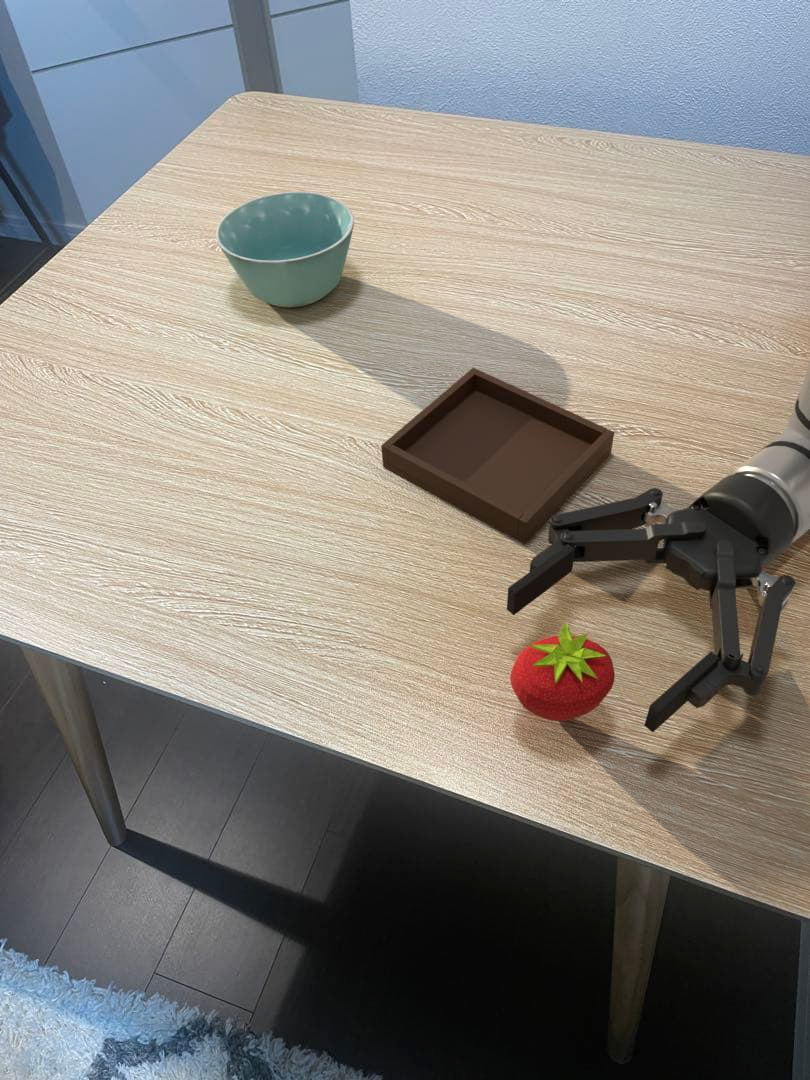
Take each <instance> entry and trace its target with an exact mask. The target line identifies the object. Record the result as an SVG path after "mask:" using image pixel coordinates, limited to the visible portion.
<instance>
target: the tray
mask: <svg viewBox="0 0 810 1080" xmlns="http://www.w3.org/2000/svg"><path fill="white" fill-rule="evenodd" d="M614 437H615V431H613V430H611V429H609V428H607V427H605V426H602V425H601V424H598V423H596V422H594V421H591V420H589V419H587V418H585V417H583V416H581V415H578V414H576V413H574V412H572V411H569V410H567V409H565V408H563V407H561V406H559V405H556V404H554V403H552V402H550V401H548V400H545V399H544V398H541V397H539V396H536V395H535V394H533V393H530V392H528V391H526V390H523V388H522V389H521V388H519V387H518V386H515V385H513V384H510V383H508V382H506V381H503V380H502V379H500V378H497V377H495V376H493V375H491V374H489V373H487V372H484V371H483V370H479V369H478V368H475V367H472V368H471V369H469V371H467V372H466V373H465V374H463V376H461V377H460V378H458V380H457V381H455V382H454V383H453V384H452V385H451V386H450V387H448V388H447V389H446V390H445V391H444V392H443V393H441V394H440V395H439V396H438V397H437V398H435V399H434V400H433V401H432V402H431V403H429V404H428V405H427V406H426V407H425V408H423V410H422V411H420V412H419V413H418V414H416V415H415V416H414V417H413V418H412V419H410V421H408V422H407V423H405V424H404V426H402V427H401V428H400V429H398V431H396V432H395V433H393V435H392V436H391V437H389V438H388V439H387V440H386V441H384V443H382V444H381V445H380V448H381V460H382V467H383V468H385V469H386V470H389V471H390V472H392V473H394V474H396V475H397V476H399V477H401V478H403V479H405V480H406V481H409V482H410V483H412V484H415V485H416V486H418V487H419V488H421V489H424V490H425V491H426V492H428V493H431V494H433V495H434V496H435V497H438V498H440V499H441V500H443V501H445V502H447V503H449V504H451V505H453V506H454V507H456V508H458V509H460V510H462V511H463V512H466V513H468V514H469V515H471V516H472V517H474V518H476V519H478V520H480V521H482V522H483V523H485V524H487V525H489V526H491V527H493V528H494V529H496V530H498V531H500V532H502V533H504V534H506V535H508V536H509V537H511V538H513V539H515V540H517V542H520V543H522V544H523V545H526V544H527V543H528V542H529V541H530V539H531V538H533V536H534V535H535V534H536V533H537V532H538V531H539V530H540V529H541V528H542V527H543V526H544V525H545V524H546V523H547V522H548V521H549V520H550V518H551V517H552V516H554V515H555V513H557V511H558V510H559V509H560V508H561V507H562V506H563V505H564V504H565V502H567V501H568V499H570V497H571V496H572V495H573V494H574V493H575V492H576V491H577V490H578V489H579V488H580V487H581V486H582V484H584V483H585V481H587V479H588V478H589V477H590V476H591V475H593V473H594V472H595V471H596V470H597V469H598V468H599V467H600V466H601V465H602V464H603V463H604V462H605V460H607V458H609V457H610V455H611V454H612V449H613V443H614Z"/></svg>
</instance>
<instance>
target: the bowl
mask: <svg viewBox="0 0 810 1080" xmlns="http://www.w3.org/2000/svg"><path fill="white" fill-rule="evenodd" d="M354 227H355V217H354V214H353V212H352V210H351V209H350V208H349V206H347V204H345V203H344V202H343V201H341V200H340V199H338V198H335V197H333V196H330V195H328V194H323V193H319V192H312V191H284V192H283V191H282V192H278V193H277V192H276V193H272V194H271V193H270V194H266V195H262V196H260V197H257V198H253V199H251V200H248V201H246V202H244V203H242V204H240V205H238V206H237V207H235V208H233V209H232V210H231V211H229V212H228V213H227V214H226V215H225V216H224V217H223V218H221V220H220V222H219V223H218V224H217V228H216V231H215V240H216V243H217V244H218V247H220V250H221V251H222V253H223V255H224V257H225V258H226V259H227V261H228V262H229V264H230V265H231V267H232V269H233V270H234V271H235V273H236V275H238V278H239V279H240V280H241V281H242V283H243V284H244V286H245V287H246V288H247V290H248V291H249V293H250V294H251V295H252V296H254V297H255V298H256V299H258V300H259V301H262V302H264V303H266V304H269V305H272V306H275V307H279V308H299V307H300V308H301V307H304V306H308V305H312V304H313V303H316V302H318V301H319V300H322V299H323V298H324V297H325V296H327V295H328V294H329V293H330V292H332V291H333V290H334V289H335V288H336V287H337V286H338V284H339V283H340V280H341V278H342V274H343V271H344V267H345V263H346V259H347V256H348V253H349V249H350V246H351V245H350V244H351V241H352V235H353V231H354Z"/></svg>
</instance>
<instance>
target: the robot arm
mask: <svg viewBox="0 0 810 1080" xmlns="http://www.w3.org/2000/svg"><path fill="white" fill-rule="evenodd" d="M663 496H664V492H663V491H662V490H661V489H660V488H657V487H652V488H650V489H648V490H646V491H645V492H643V493H641V494H639V495H637V496H636V497H632V498H627V499H622V500H618V501H614V502H608V503H605V504H601V505H600V504H599V505H595V506H590V507H586V508H581V509H576V510H572V511H567V512H563V513H562V512H561V513H557V514H553V515H552V516H551V517H550V518H549V525H548V537H547V541H548V544H549V546H548V547H546V548H545V549H543V550H542V551H540V552H539V553H538V554H536V555H535V556H534V557H533V558H532V559H531V561H530V562H529V572H527V573H526V574H525V575H524V576H522V577H521V578H519V579H518V580H517V581H515V582H514V583H513V584H511V585H510V586H509V587H508V588H507V598H506V599H507V601H506V602H507V603H506V610H507V611H508V612H509V613H510V614H511V615H512V616H515V615H517V613H519V612H520V611H522V610H523V609H524V608H526V607H527V606H528V605H529V604H531V603H532V602H533V601H535V600H536V599H537V598H539V597H540V596H541V595H543V594H544V593H545V592H547V591H548V590H549V589H552V587H554V586H555V585H556V584H558V582H560V581H561V580H562V579H564V578H565V577H567V576H568V575H569V574H571V573H572V572H573V567H574V566H573V565H574V563H585V562H587V563H588V562H589V563H590V562H618V561H619V562H621V561H644V562H645V563H646V564H650V565H655V564H666V565H665V569H666V570H667V571H669V572H671V573H672V574H674V575H676V576H678V577H681V578H683V579H684V581H686V583H687V584H688V585H689V586H690V587H692V588H693V589H695V590H696V591H699V590H703V591H708V597H709V598H708V599H709V609H710V610H711V619H712V620H711V621H712V635H713V650H714V651H709V652H708V653H707V654H706V655H705V656H704V657H703V658H702V659H701V660H699V661H698V662H697V663H696V664H694V666H693V667H691V668H690V669H689V670H688V671H687V672H686V673H684V675H683V676H681V677H680V678H679V679H678V680H677V681H676V682H674V683H673V684H672V685H671V686H669V688H668V689H667V690H665V691H664V692H663V693H662V694H661V695H659V697H657V698H656V699H655V700H654V701H652V703H651V704H650V705H649V707H648V711H647V715H646V718H645V721H644V727H645V728H647V729H648V730H649V731H650V732H652V733H654V732H656V730H657V729H659V728H660V727H661V726H662V725H663V724H664V723H665V722H667V721H668V720H669V719H670V718H671V717H672V716H673V715H674V714H675V713H676V712H677V711H679V709H681V708H682V707H683V706H684V705H686V703H687V702H688V703H689V704H690V705H692V706H693V707H694V708H695V709H699V708H703V707H705V706H706V705H707V704H708V703H709V702H710V701H711V700H712V699H713V698H714V697H716V695H718V694H719V693H720V692H722V690H723V689H724V688H726V687H727V686H731V685H733V686H737V687H739V688H741V689H742V690H743V692H744V693H745V694H746V695H748V696H753V697H754V696H757V695H759V694H760V692H761V689H762V687H763V686H764V684H765V681H766V679H767V677H768V674H769V673H770V672H769V671H770V667H771V663H772V662H771V661H772V657H773V651H774V647H775V641H776V637H777V633H778V627H779V623H780V617H781V613H782V611H783V609H784V608H785V607H786V606H787V605H788V601H789V599H790V598H791V594H792V592H793V591H794V588H795V586H796V580H795V578H794V577H793V576H790V575H788V574H783V575H781V576H779V577H776V576H774V575H772V574H770V573H769V572H767V571H765V570H763V569H765V568H766V567H768V565H769V564H771V563H772V562H773V561H774V560H776V559H777V558H778V557H780V555H782V553H784V552H785V551H787V549H788V548H789V547H790V546H791V544H793V543H795V542H796V541H797V540H798V539H799V538H801V537H802V536H803V535H804V534H805V533H806V532H808V531H809V530H810V362H809V363H808V366H807V369H806V373H805V376H804V379H803V381H802V385H801V388H800V391H799V393H798V396H797V399H796V400H795V403H794V406H793V408H792V412H791V414H790V417H789V420H788V423H787V424H786V426H785V428H784V430H783V431H782V432H781V433H780V434H779V435H777V436H776V437H775V438H774V439H773V440H771V441H770V442H768V444H767V445H765V446H763V448H761V449H759V451H757V452H756V453H755V454H754V455H752V456H751V457H750V458H748V459H746V460H745V461H744V462H743V463H741V464H740V465H739V466H736V467H735V469H733V470H732V471H730V472H729V474H727V475H726V476H725V477H723V478H722V479H720V480H719V481H718V482H717V483H715V484H714V485H712V487H710V488H708V490H706V491H705V492H704V493H702V494H701V495H700V496H699V497H697V498H696V499H695V500H694V501H693V502H691V504H690V505H689V506H688V507H685V508H682V509H678V510H674V509H673V508H672V507H671V506H669V505H668V504H667V503H666V502H665V501H664V500H663ZM642 526H646V528H640V527H642ZM660 541H663V544H662V547H659V544H660ZM753 586H754V587H755V588H756V590H757V592H756V593H757V594H756V599H757V600H758V604H759V605H760V606H761V607H760V610H759V613H758V616H757V619H756V624H755V627H754V632H753V637H752V642H751V646H750V651H749V655H748V660H747V661H746V660H743V658H744V653H741V645H740V634H739V633H740V632H739V621H738V610H737V599H736V589H744V588H751V587H753Z"/></svg>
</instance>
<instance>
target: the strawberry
mask: <svg viewBox="0 0 810 1080" xmlns="http://www.w3.org/2000/svg"><path fill="white" fill-rule="evenodd" d="M588 635H589V632H588V633H584V634H582V635H579V636H577V635H572V632H571V630H570V627H569V626H568V622H567V620H565V621H564V623H563V625H562V627H561V630H560V632H559V634H558V635H553V636H549V637H543V638H542V639H539V640H536V641H534V642H531V644H529V645H528V646H526V647H525V648H524V649H522V650H521V652H520V653H519V655H518V656H517V658H516V660H515V661H514V664H513V666H512V668H511V671H510V677H509V680H510V685H511V687H512V690H513V692H514V694H515V696H516V698H517V699H518V702H519V703H520V704H521V706H522V707H523V708H524V709H526V710H527V711H528V712H529V713H531V714H533V715H535V716H538V717H540V718H542V719H545V720H548V721H553V722H566V721H569V720H573V719H576V718H579V717H583V716H585V715H587V714H589V713H590V712H592V711H594V710H595V709H596V708H597V707H598V706H599V705H600V704H601V703H602V702H603V700H604V699H605V698H607V696H608V694H609V693H610V691H611V690H612V688H613V686H614V683H615V676H616V674H615V669H614V664H613V663H614V662H613V659H612V657H611V655H610V654H609V652H608V651H607V650H606V649H605V648H604V647H602V646H601V645H600V644H599V643H597V642H595V641H593V640H591V639H589V638H587V637H588Z"/></svg>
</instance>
